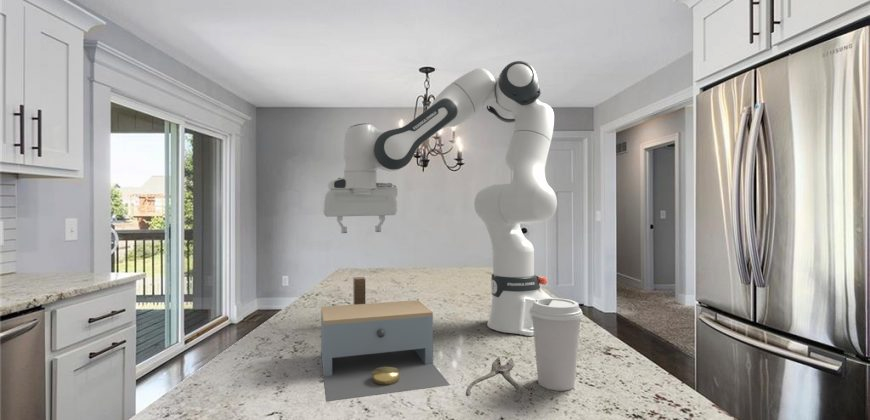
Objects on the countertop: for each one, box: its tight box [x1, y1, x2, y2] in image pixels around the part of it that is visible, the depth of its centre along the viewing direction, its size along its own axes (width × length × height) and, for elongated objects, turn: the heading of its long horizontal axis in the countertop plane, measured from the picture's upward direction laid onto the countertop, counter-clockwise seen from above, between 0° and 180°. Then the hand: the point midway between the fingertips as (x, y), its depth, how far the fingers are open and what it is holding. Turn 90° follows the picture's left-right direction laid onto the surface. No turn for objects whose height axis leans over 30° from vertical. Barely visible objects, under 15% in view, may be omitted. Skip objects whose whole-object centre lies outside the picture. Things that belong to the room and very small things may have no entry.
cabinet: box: [320, 299, 434, 377], centre depth 91 cm, size 22×13×11 cm, turn 107°
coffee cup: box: [529, 297, 584, 392], centre depth 79 cm, size 10×10×15 cm
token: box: [372, 367, 399, 386], centre depth 80 cm, size 5×5×2 cm
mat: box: [323, 349, 451, 402], centre depth 87 cm, size 22×25×1 cm
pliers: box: [465, 356, 522, 403], centre depth 82 cm, size 10×1×20 cm
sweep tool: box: [352, 276, 366, 305], centre depth 109 cm, size 8×23×13 cm, turn 17°
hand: (361, 232), depth 118 cm, fingers open, 8 cm apart
